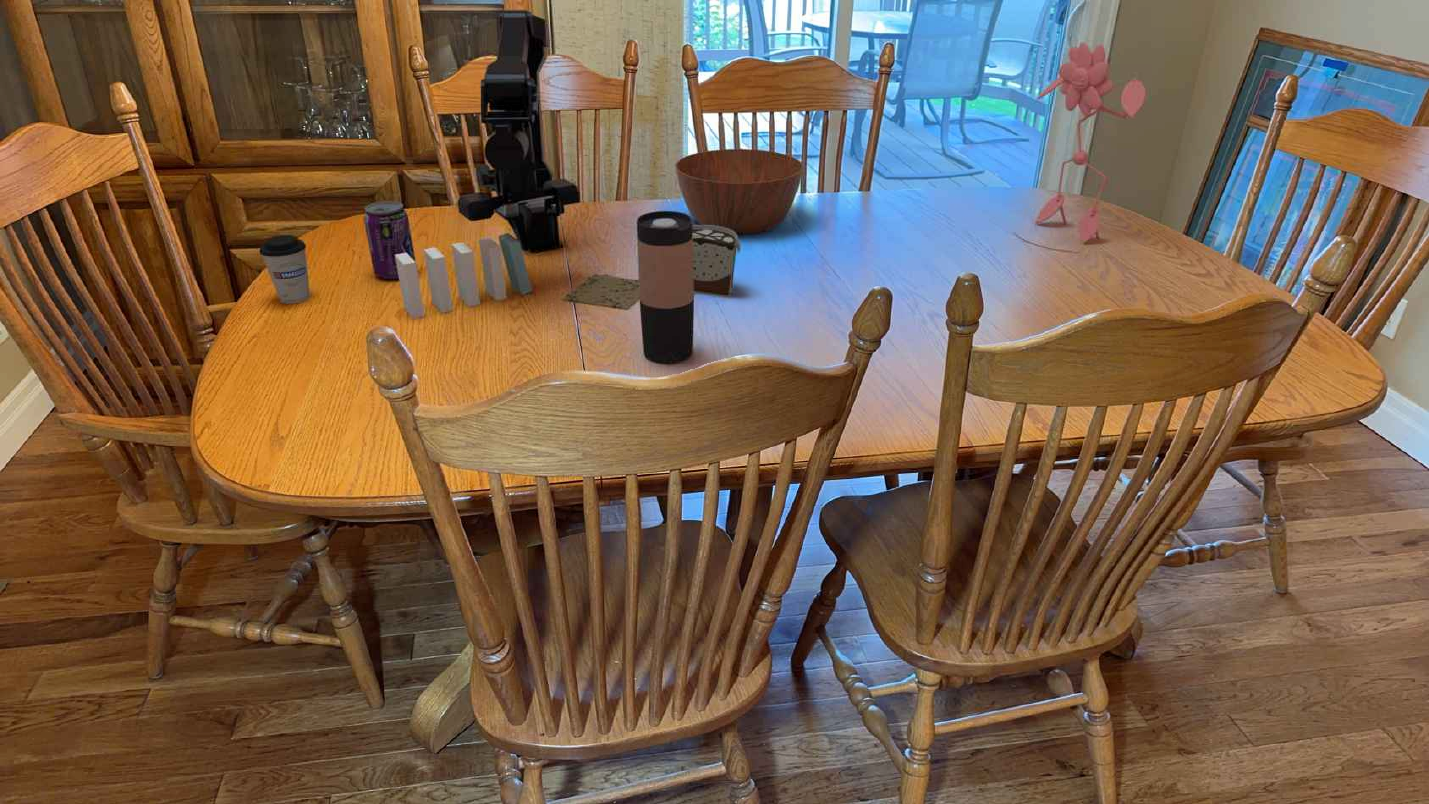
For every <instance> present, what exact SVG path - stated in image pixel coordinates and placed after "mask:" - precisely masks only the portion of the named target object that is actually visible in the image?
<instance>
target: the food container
mask: <svg viewBox="0 0 1429 804" xmlns="http://www.w3.org/2000/svg"><path fill="white" fill-rule="evenodd" d="M692 233H693V276H694V294H700V295H707V296H716V297H722V298H730V297H731V296H732V291H733V285H734V284H733V282H734V274H735V273H734V272H735V265H736V257H737V253H739V254H740V252H741V249H742V248H741V243H740V239H739V236H738V234H736V233H735V232H734V231H732V230H730V229H728V228H725V227H720V226H714V225H700V224H695V225H694V224H692Z"/></svg>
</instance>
